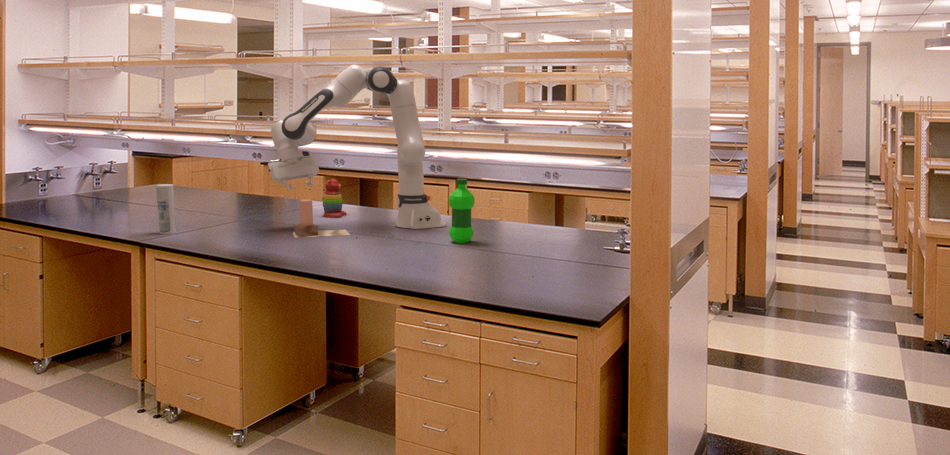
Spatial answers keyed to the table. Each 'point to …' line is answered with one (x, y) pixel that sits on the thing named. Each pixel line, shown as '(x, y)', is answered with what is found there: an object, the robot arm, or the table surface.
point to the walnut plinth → (306, 230)
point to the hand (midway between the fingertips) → (300, 187)
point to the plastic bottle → (461, 213)
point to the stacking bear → (333, 200)
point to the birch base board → (327, 233)
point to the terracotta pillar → (305, 212)
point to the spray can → (166, 208)
